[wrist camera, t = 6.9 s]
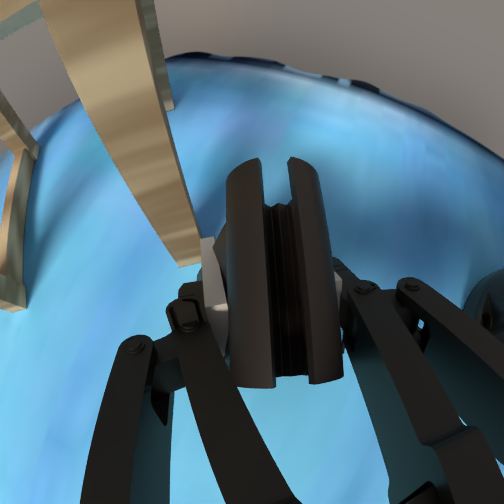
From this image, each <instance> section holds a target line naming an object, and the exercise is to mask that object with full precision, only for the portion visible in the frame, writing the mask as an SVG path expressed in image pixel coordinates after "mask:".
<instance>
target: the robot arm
mask: <svg viewBox="0 0 504 504" xmlns="http://www.w3.org/2000/svg"><path fill="white" fill-rule="evenodd" d="M214 243H215V240H214V236H213V237H207V238H201V239H200V246H201V263H202V277H203V280H201V281H195V282H189V283H183V285H182V286H181V287H180V289H179V292H178V299H175V300H174V301H172V302H171V303H169V305H168V306H167V307H166V314H167V318H168V321H169V324H170V326H171V329H172V332H171V333H170V334H168V335H167V336H165V337H163V338H161V339H158V340H156V341H152V339H151V338H150V337H148V336H146V335H135V336H131V337H129V338H127V339H126V340H124V341H123V342H122V343H121V345H120V346H119V348H118V351H117V354H116V357H115V360H114V363H113V366H112V369H111V372H110V376H109V379H108V382H107V386H106V389H105V392H104V396H103V399H102V403H101V406H100V410H99V414H98V418H97V421H96V425H95V429H94V433H93V438H92V442H91V446H90V451H89V455H88V460H87V465H86V470H85V475H84V481H83V486H82V492H81V499H80V504H170V457H171V436H172V419H173V405H174V391H176V390H178V389H181V388H183V387H186V389H187V393H188V396H189V400H190V403H191V407H192V410H193V413H194V417H195V420H196V423H197V426H198V430H199V433H200V436H201V439H202V442H203V445H204V448H205V451H206V453H207V456H208V459H209V462H210V465H211V467H212V470H213V473H214V475H215V478H216V481H217V483H218V486H219V488H220V491H221V493H222V496H223V498H224V501H225V503H226V504H302V503H301V502H300V501H299V500H298V499H297V498H296V497H295V496H294V494H293V493H292V491H291V490H290V488H289V486H288V484H287V483H286V481H285V479H284V477H283V476H282V474H281V472H280V470H279V468H278V467H277V465H276V463H275V461H274V459H273V458H272V456H271V454H270V452H269V450H268V448H267V446H266V444H265V443H264V441H263V439H262V437H261V435H260V433H259V431H258V429H257V427H256V425H255V423H254V421H253V419H252V417H251V415H250V413H249V411H248V409H247V407H246V405H245V403H244V401H243V399H242V397H241V395H240V392H239V390H238V388H237V387H236V386H235V385H234V383H233V380H232V376H231V373H230V371H229V369H228V367H227V364H226V362H225V360H224V354H225V349H226V343H227V338H228V333H229V326H228V306H227V301H226V296H225V292H224V287H223V282H222V277H221V271H220V266H219V263H218V261H217V258H216V256H215V253H214V251H213V248H212V247H213V245H214ZM332 260H333V267H334V275H335V283H336V291H337V300H338V309H339V319H340V326H341V328H342V329H343V339H342V354H344V349H345V348H346V350H347V353H348V356H349V358H350V361H351V364H352V366H353V369H354V372H355V375H356V377H357V380H358V383H359V386H360V389H361V392H362V394H363V397H364V400H365V403H366V406H367V409H368V412H369V415H370V418H371V421H372V424H373V427H374V430H375V433H376V436H377V439H378V443H379V446H380V449H381V452H382V456H383V459H384V462H385V466H386V469H387V472H388V476H389V488H388V498H389V503H390V504H504V478H503V475H502V473H501V471H500V468H499V466H498V464H497V461H496V459H497V460H498V461H499V462H500V463H502V464H503V465H504V268H503V269H501V270H499V271H497V272H494V273H492V274H490V275H488V276H486V277H485V278H483V279H482V280H481V281H480V282H479V283H478V284H477V285H476V286H475V288H474V289H473V291H472V292H471V294H470V296H469V298H468V300H467V302H466V305H465V307H464V310H463V311H462V310H461V309H459V308H458V307H457V306H456V305H454V304H453V303H452V302H450V301H449V300H448V299H446V298H445V297H444V296H442V295H441V294H439V293H438V292H437V291H435V290H434V289H433V288H431V287H430V286H428V285H427V284H426V283H424V282H423V281H421V280H419V279H416V278H413V277H411V278H410V277H407V278H402V279H400V280H399V281H398V283H397V287H396V289H388V290H381V289H380V287H379V286H378V285H377V284H376V283H374V282H371V281H367V280H360V279H358V278H357V277H356V276H355V275H354V274H353V273H352V272H351V271H350V270H349V269H348V268H347V267H346V266H345V265H344V264H343V263H342V262H341V261H340V260H339V259H337V258H335V257H332ZM419 319H421V320H422V321H423V322H424V326H423V328H422V329H421V328H419V327H418V323H419ZM458 415H459V416H458ZM459 417H460V418H461V419H462V420H463V421H464V422H465V423H466V425H467V426H465V425H464V424H463V423H462V422H461V420H460V418H459ZM495 458H496V459H495Z"/></svg>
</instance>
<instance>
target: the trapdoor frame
mask: <svg viewBox="0 0 504 504" xmlns="http://www.w3.org/2000/svg"><path fill="white" fill-rule="evenodd" d="M34 1H36V0H0V23H1V22H2V21H4V20H5V19H7V18H8V17H10V16H11V15H13V14H14V13H16V12H17V11H19V10H20V9H22V8H24V7H25V6H27V5H29V4H30V3H32V2H34ZM38 1H39V4H40V7H41V10H42V12H43V15H44V18H45V20H46V23H47V25H48V28H49V31H50V33H51V36H52V38H53V40H54V43H55V45H56V48H57V50H58V52H59V54H60V57H61V59H62V61H63V64H64V66H65V68H66V70H67V72H68V75H69V76H70V79H71V81H72V83H73V85H74V87H75V89H76V92H77V93H78V95H79V98H80V100H81V102H82V104H83V106H84V108H85V110H86V112H87V114H88V116H89V118H90V119H91V121H92V123H93V125H94V127H95V129H96V131H97V133H98V135H99V137H100V138H101V140H102V142H103V144H104V146H105V148H106V149H107V151H108V153H109V155H110V157H111V158H112V160H113V162H114V164H115V165H116V167H117V169H118V171H119V172H120V174H121V176H122V178H123V179H124V181H125V183H126V184H127V186H128V188H129V189H130V191H131V193H132V194H133V196H134V198H135V199H136V201H137V203H138V204H139V206H140V208H141V209H142V211H143V212H144V214H145V216H146V217H147V219H148V220H149V222H150V224H151V225H152V227H153V228H154V230H155V231H156V233H157V235H158V236H159V238H160V239H161V241H162V242H163V244H164V245H165V247H166V248H167V250H168V251H169V253H170V254H171V256H172V257H173V259H174V260H175V262H176V263H177V265H178V266H179V268H181V267H185V266H189V265H193V264H196V263H200V262H201V246H200V239H201V238H202V236H201V232H200V229H199V226H198V223H197V219H196V216H195V213H194V210H193V206H192V203H191V200H190V196H189V193H188V190H187V186H186V183H185V179H184V176H183V172H182V169H181V165H180V162H179V158H178V155H177V151H176V148H175V144H174V140H173V137H172V133H171V129H170V125H169V122H168V118H167V114H166V111H170V110H174V103H173V98H172V93H171V88H170V84H169V79H168V74H167V69H166V64H165V59H164V55H163V49H162V44H161V39H160V33H159V28H158V22H157V17H156V11H155V5H154V0H38ZM0 138H1V140H2V141H3V142H4V143H5V144H6V146H7V147H8V148H9V149H10V151H11V152H12V153H13V154H14V155H15V158H14V162H13V166H12V170H11V174H10V178H9V183H8V187H7V192H6V197H5V203H4V209H3V215H2V223H1V231H0V309H3V310H6V311H9V312H12V313H13V312H17V311H21V310H24V309H27V304H26V286H25V285H23V243H24V229H25V218H26V209H27V201H28V194H29V188H30V182H31V176H32V171H33V166H34V161H36V160H37V158H38V154H39V149H40V146H39V145H38V143H37V142H36V141H35V139H34V138H33V137H32V135H31V134H30V133H29V131H28V130H27V128H26V127H25V126H24V124H23V123H22V122H21V120H20V119H19V117H18V116H17V114H16V113H15V111H14V110H13V108H12V107H11V105H10V104H9V102H8V101H7V99H6V98H5V96H4V95H3V93H2V91H1V90H0Z"/></svg>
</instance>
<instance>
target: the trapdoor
mask: <svg viewBox="0 0 504 504" xmlns="http://www.w3.org/2000/svg"><path fill="white" fill-rule="evenodd" d="M42 17H44V15H43V12H42V10H41V7H40V4H39V1H38V0H36V1H34V2H32V3H30V4H29V5H27V6H25V7H24V8H22V9H20V10H19V11H17V12H16V13H14V14H13V15H11V16H10V17H8V18H7V19H5V20H4V21H2V22H1V23H0V41H1V40H3V39H4V38H6V37H8V36H9V35H11V34H13V33H14V32H16V31H18V30H19V29H21V28H23V27H25V26H27V25H29V24H30V23H32V22H34V21H36V20H38V19H40V18H42Z"/></svg>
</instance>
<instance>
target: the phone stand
mask: <svg viewBox="0 0 504 504" xmlns="http://www.w3.org/2000/svg"><path fill="white" fill-rule="evenodd" d="M287 165H288V172H289V179H290V186H291V194H292V200H290V202H289V203H288V205H284V204H280V203H277V204H276V205H274V206H273V207H269V206H268V205H266V204H265V203H264V190H263V178H262V166H261V162H260V160H259V158H254V159H251V160H249V161H246V162H244V163H242V164H241V165H239V166H238V167H236V168H235V169H234V170H233V171H232V172H231V173H230V174H229V176H228V178H227V181H226V223H225V225H224V227H223V229H222V230H221V232H220V234H219V236H218V238H217V239H216V241H215V243H214V245H213V247H212V248H213V251H214V253H215V256H216V258H217V261H218V263H219V266H220V271H221V277H222V282H223V287H224V292H225V296H226V301H227V306H228V326H229V333H228V338H227V343H226V349H225V354H224V360H225V362H226V364H227V367H228V369H229V371H230V373H231V376H232V380H233V383H234V385H235V386H236V387H243V388H262V389H268V388H275V387H276V377H281V376H298V375H308V377H309V384H314V385H315V384H321V383H326V382H330V381H334V380H337V379H340V378H342V377H343V376H344V372H343V356H342V342H341V330H340V319H339V309H338V300H337V291H336V283H335V275H334V267H333V260H332V253H331V246H330V240H329V233H328V227H327V221H326V215H325V209H324V204H323V198H322V193H321V188H320V183H319V177H318V174H317V172H316V170H315V169H314V168H313V166H311V165H310V164H309V163H307V162H305V161H303V160H301V159H298V158H295V157H290V159H289V160H288V162H287ZM201 280H203V277H202V267H201V269H200V271H199V273H198V275H197V281H201Z"/></svg>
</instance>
